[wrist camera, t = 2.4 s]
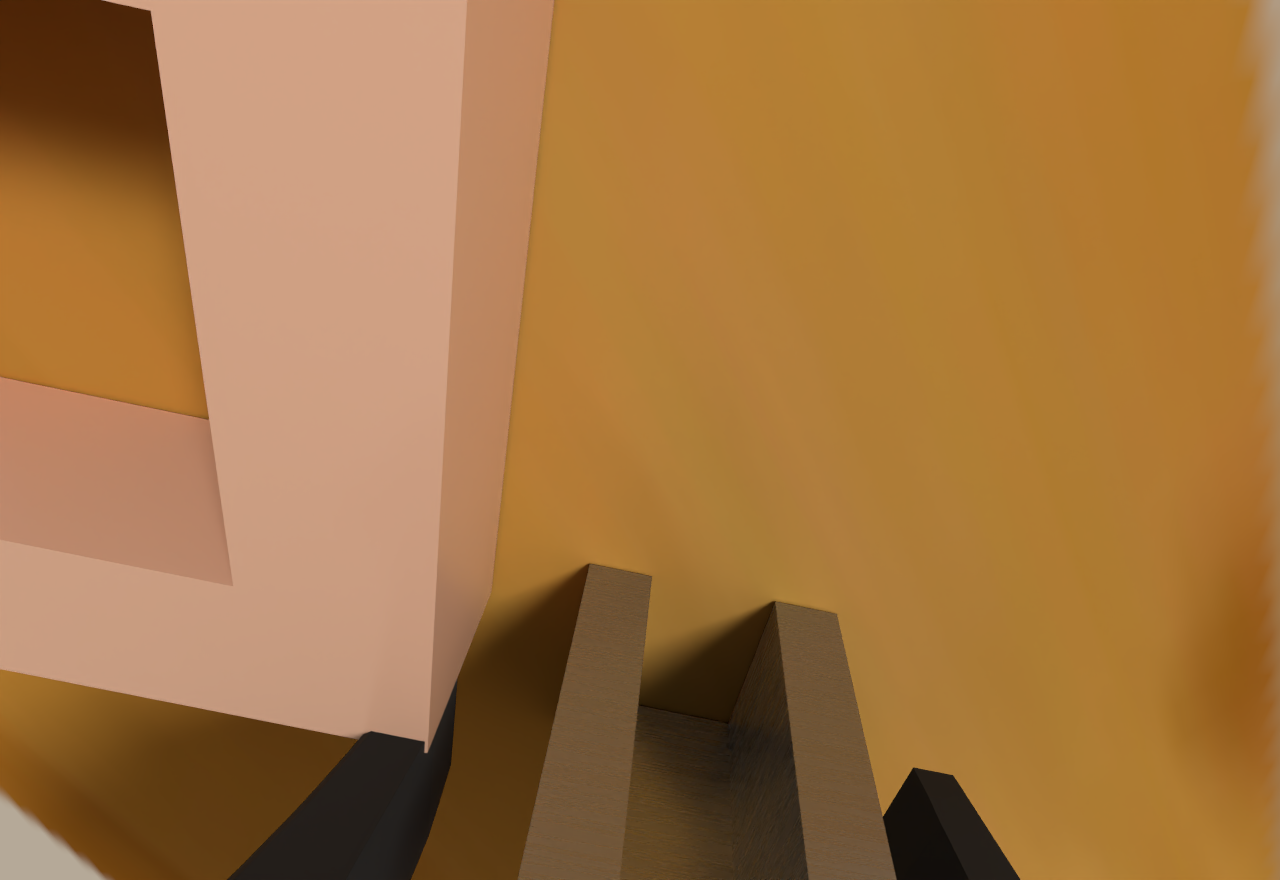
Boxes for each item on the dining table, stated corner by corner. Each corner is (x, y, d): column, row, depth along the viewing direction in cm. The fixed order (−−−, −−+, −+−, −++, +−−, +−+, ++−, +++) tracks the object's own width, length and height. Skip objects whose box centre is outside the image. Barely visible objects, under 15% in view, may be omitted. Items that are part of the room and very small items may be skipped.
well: (491, 592, 11) (427, 753, 9) (-118, 469, 11) (-365, 596, 9) (576, -204, 6) (488, -372, 4) (-514, -449, 6) (-1380, -797, 4)
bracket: (767, 768, 13) (806, 1247, 8) (557, 726, 13) (457, 1182, 8) (837, 613, 11) (950, 1119, 6) (589, 564, 11) (483, 1029, 6)
